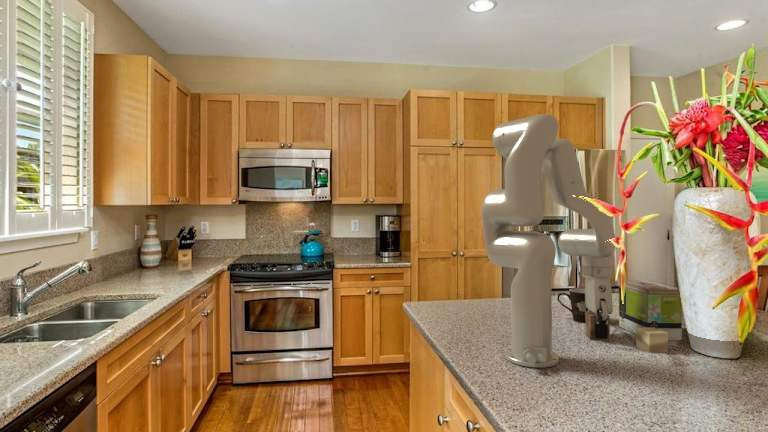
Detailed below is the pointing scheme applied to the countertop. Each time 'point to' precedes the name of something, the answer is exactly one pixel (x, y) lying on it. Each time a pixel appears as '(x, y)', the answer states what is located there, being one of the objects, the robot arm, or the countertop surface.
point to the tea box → (651, 308)
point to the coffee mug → (576, 304)
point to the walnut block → (591, 326)
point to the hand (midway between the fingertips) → (597, 333)
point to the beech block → (652, 339)
